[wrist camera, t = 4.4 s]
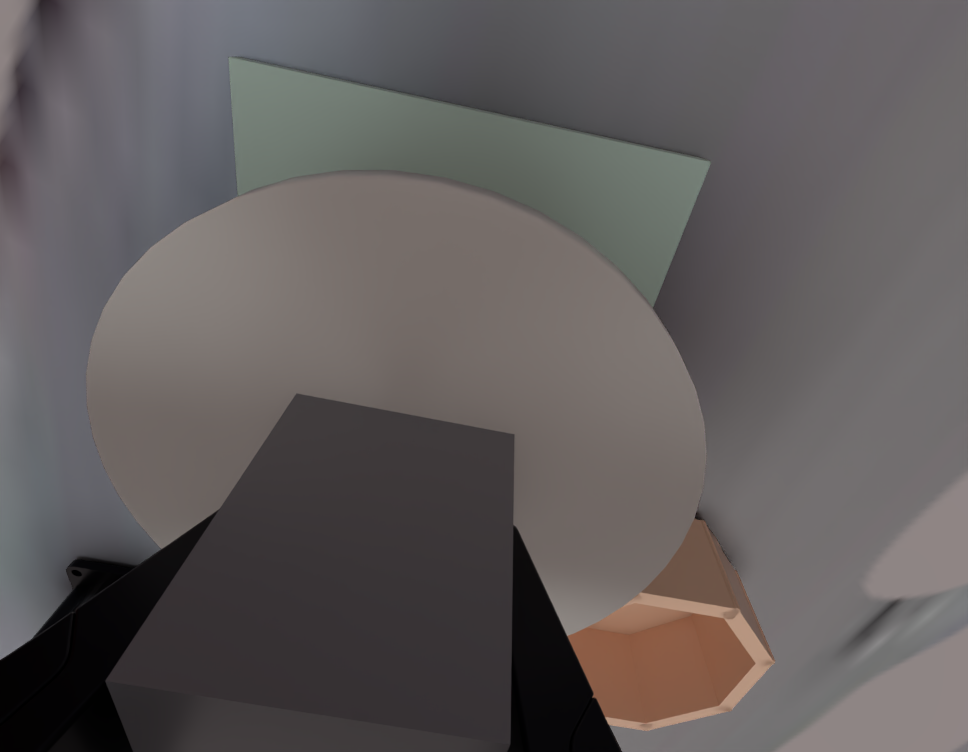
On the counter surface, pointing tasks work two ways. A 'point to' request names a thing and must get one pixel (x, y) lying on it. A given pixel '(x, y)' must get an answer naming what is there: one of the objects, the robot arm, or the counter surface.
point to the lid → (379, 458)
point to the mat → (468, 158)
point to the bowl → (677, 643)
